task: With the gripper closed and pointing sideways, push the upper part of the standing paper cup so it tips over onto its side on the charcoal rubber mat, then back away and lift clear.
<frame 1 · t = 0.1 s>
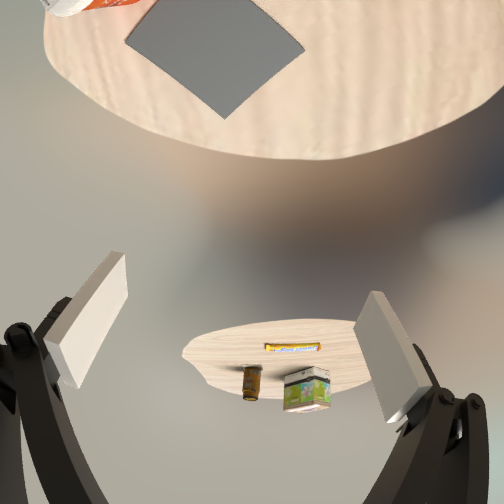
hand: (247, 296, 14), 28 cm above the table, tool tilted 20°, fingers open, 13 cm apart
mat: (210, 39, 26), on the table
condiment: (252, 368, 96), on the table
tea box: (306, 373, 98), on the table
candy bar: (293, 343, 80), on the table
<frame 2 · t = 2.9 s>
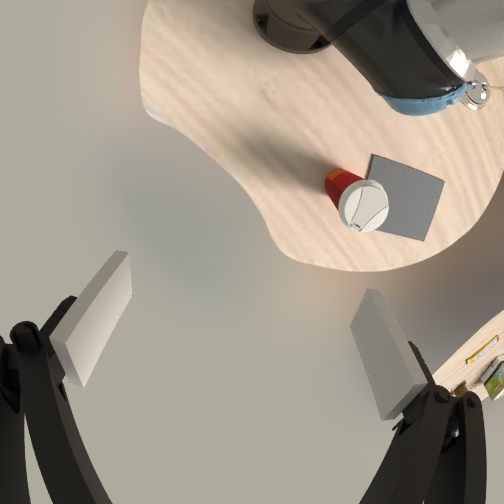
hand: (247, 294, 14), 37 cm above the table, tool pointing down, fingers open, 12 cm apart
mat: (402, 201, 49), on the table
condiment: (459, 387, 84), on the table
paper cup: (339, 183, 48), on the table
tea box: (493, 365, 80), on the table
cup with straw: (439, 88, 38), on the table
candy bar: (482, 347, 73), on the table
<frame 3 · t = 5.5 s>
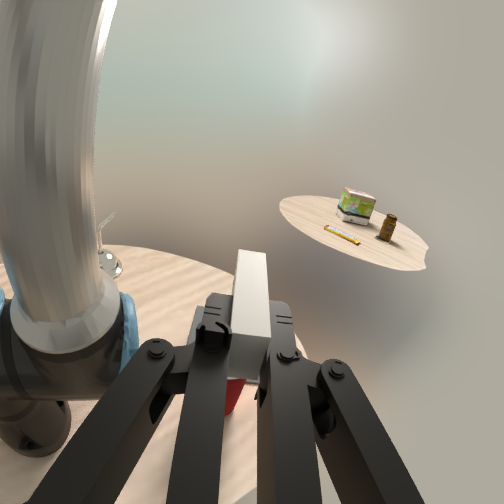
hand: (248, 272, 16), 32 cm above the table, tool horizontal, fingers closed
mat: (225, 342, 52), on the table
condiment: (382, 239, 121), on the table
paper cup: (216, 403, 40), on the table
tea box: (351, 220, 135), on the table
cup with straw: (109, 308, 53), on the table
candy bar: (340, 237, 113), on the table
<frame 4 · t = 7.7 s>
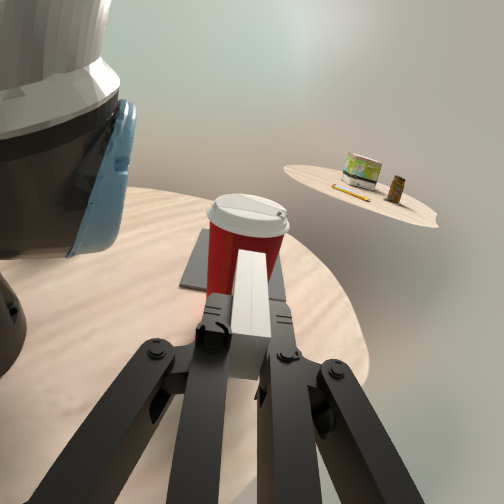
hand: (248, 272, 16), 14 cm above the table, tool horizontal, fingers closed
mat: (236, 260, 44), on the table
condiment: (391, 202, 113), on the table
paper cup: (229, 321, 32), on the table
tea box: (357, 185, 128), on the table
candy bar: (349, 195, 106), on the table
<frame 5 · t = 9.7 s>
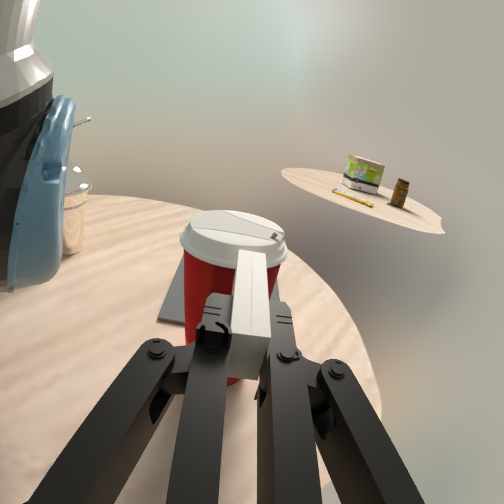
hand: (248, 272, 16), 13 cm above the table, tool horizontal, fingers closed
mat: (226, 284, 38), on the table
condiment: (395, 206, 107), on the table
paper cup: (215, 365, 25), on the table, touching gripper
tea box: (358, 189, 122), on the table
cup with straw: (72, 248, 38), on the table
candy bar: (351, 200, 99), on the table
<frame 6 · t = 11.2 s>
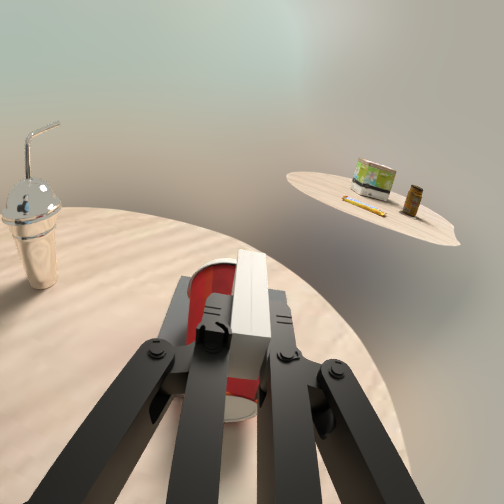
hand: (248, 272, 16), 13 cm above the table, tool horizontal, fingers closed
mat: (227, 333, 29), on the table
condiment: (407, 215, 99), on the table
paper cup: (221, 412, 18), point 3 cm above the table, touching mat
tea box: (368, 195, 113), on the table
cup with straw: (45, 280, 30), on the table
candy bar: (362, 209, 91), on the table
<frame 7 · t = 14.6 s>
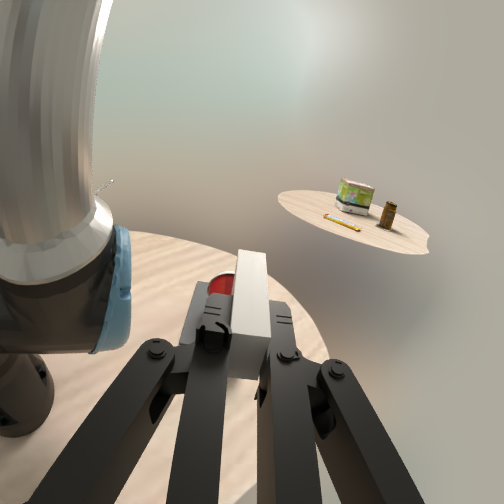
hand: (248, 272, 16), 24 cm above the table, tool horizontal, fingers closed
mat: (228, 315, 49), on the table
condiment: (383, 227, 119), on the table
paper cup: (226, 351, 37), point 3 cm above the table, touching mat
tea box: (350, 211, 134), on the table
candy bar: (340, 225, 111), on the table
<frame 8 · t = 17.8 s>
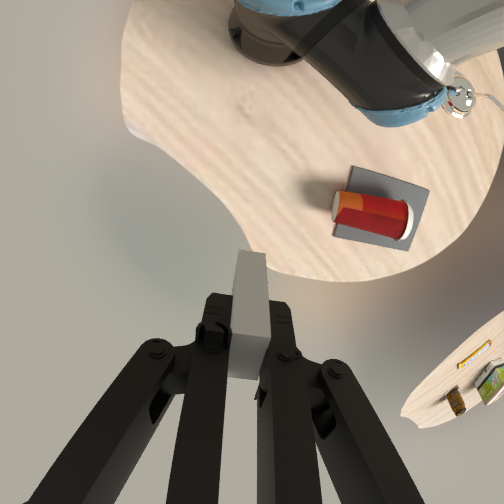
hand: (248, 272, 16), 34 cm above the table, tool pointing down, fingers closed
mat: (384, 212, 50), on the table
condiment: (451, 391, 85), on the table
paper cup: (334, 205, 47), point 3 cm above the table, touching mat
tea box: (487, 370, 81), on the table
cup with straw: (424, 94, 39), on the table
candy bar: (473, 352, 74), on the table
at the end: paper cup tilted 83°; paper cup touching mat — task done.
